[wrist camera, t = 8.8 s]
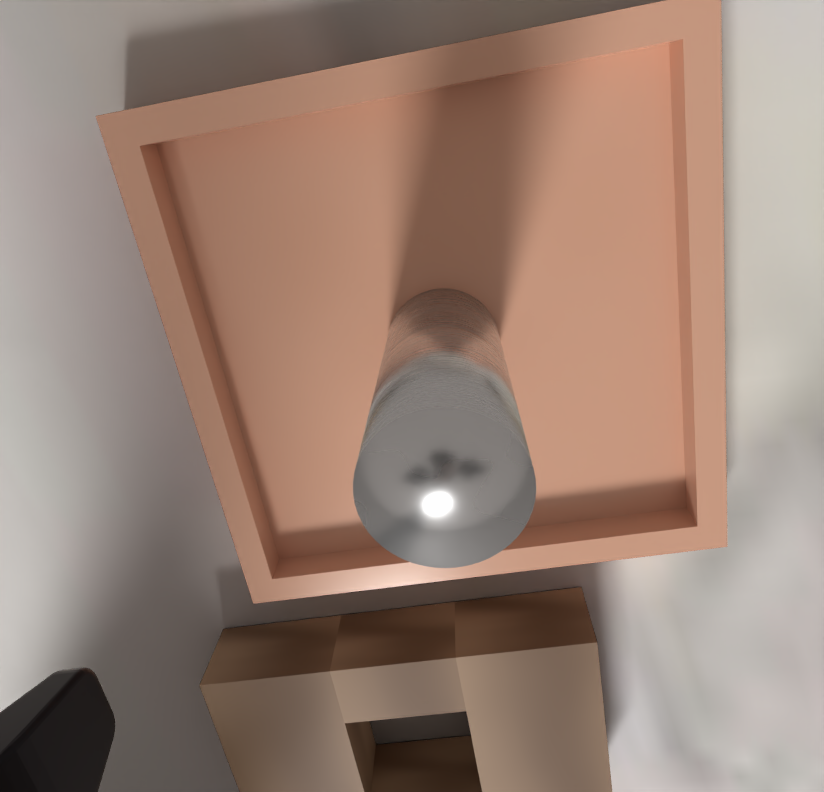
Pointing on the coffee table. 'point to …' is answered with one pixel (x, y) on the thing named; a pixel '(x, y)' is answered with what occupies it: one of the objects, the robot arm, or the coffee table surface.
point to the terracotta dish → (451, 280)
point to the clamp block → (416, 698)
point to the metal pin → (444, 438)
